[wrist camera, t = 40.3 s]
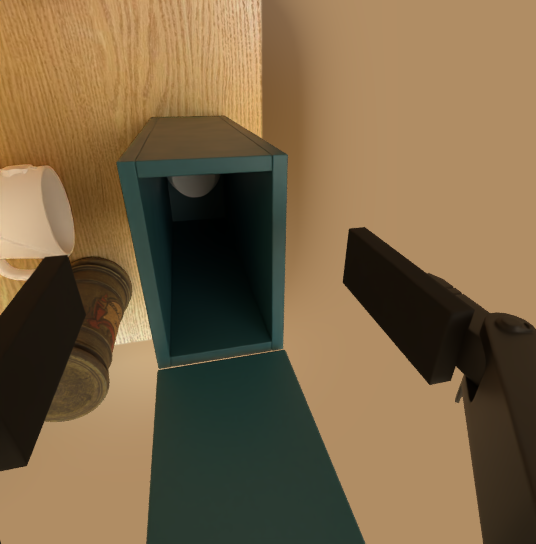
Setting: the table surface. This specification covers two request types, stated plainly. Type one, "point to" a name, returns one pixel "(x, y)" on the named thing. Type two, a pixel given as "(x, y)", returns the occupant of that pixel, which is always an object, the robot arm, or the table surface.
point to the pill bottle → (194, 184)
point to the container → (92, 338)
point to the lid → (242, 459)
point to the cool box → (208, 238)
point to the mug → (33, 217)
